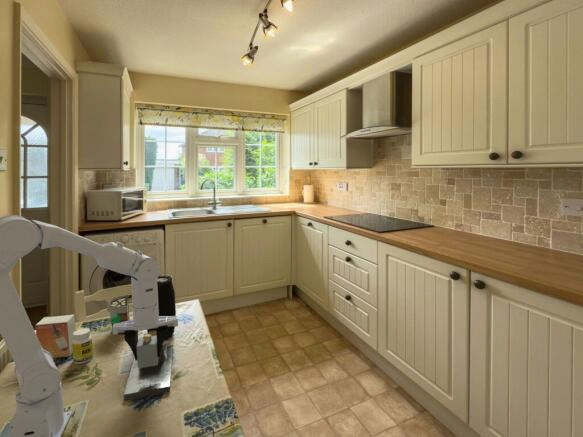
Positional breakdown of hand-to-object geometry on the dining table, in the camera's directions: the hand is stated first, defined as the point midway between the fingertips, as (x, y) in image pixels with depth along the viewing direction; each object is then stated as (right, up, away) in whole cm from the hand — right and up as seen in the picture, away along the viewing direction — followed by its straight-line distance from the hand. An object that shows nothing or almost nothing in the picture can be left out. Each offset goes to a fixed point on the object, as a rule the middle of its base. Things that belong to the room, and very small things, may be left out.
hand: (148, 356), depth 80 cm
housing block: (0, -2, 0) cm, 2 cm away
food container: (-23, -4, +29) cm, 37 cm away
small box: (-33, -5, +14) cm, 36 cm away
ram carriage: (-3, -5, +9) cm, 11 cm away
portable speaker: (-7, -4, +25) cm, 26 cm away
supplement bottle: (-23, -6, +11) cm, 27 cm away
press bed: (-2, -7, +6) cm, 9 cm away
